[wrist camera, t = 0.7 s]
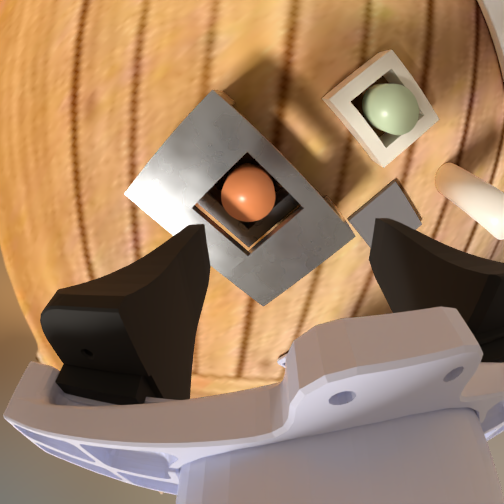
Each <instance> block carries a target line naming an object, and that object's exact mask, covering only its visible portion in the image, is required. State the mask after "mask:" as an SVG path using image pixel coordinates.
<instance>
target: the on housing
mask: <svg viewBox="0 0 504 504" xmlns="http://www.w3.org/2000/svg"><path fill="white" fill-rule="evenodd" d="M381 76H384V77H385V78H386V80H387V81H388V82H389V84H399V85H402V86H404V87H406V88H408V89H409V90H410V91H411V92H412V93H413V95H414V96H415V98H416V100H417V103H418V106H419V117H418V121H417V123H416V125H415V127H414V128H413V129H412V130H411V131H410V132H408V133H406V134H403V135H393V134H390V133H387V132H386V133H384V134H383V135H382V136H381V137H380V138H378V136H377V135H376V134H375V132H374V131H373V130H372V128H371V127H370V126H369V124H368V123H367V122H366V120H365V119H364V118H363V117H362V115H361V114H360V113H359V112H358V110H357V109H356V108H355V107H354V106H353V104H352V103H351V101H352V100H353V99H354V98H355V97H357V96H358V95H359V94H360V93H362V92H363V91H364V90H365V89H366V88H368V87H369V86H370V85H371V84H373V83H374V82H375V81H376V80H378V79H379V78H380V77H381ZM321 99H322V100H323V101H324V102H325V103H326V104H327V105H328V106H329V108H330V109H331V110H332V111H333V112H334V113H335V114H336V116H337V117H338V118H339V119H340V120H341V121H342V123H343V124H344V125H345V126H346V127H347V129H348V130H349V131H350V132H351V134H352V135H353V136H354V137H355V139H356V140H357V141H358V142H359V144H360V145H361V146H362V147H363V149H364V150H365V151H366V153H367V154H368V155H369V157H370V158H371V159H372V160H373V161H374V162H376V163H377V164H379V165H380V166H382V167H383V168H384V167H385V166H386V165H387V164H389V163H390V162H391V161H392V160H393V159H394V158H396V157H397V156H398V155H399V154H400V153H401V152H403V151H404V150H405V149H406V148H407V147H408V146H410V145H411V144H412V143H413V142H414V141H415V140H416V139H418V138H419V137H420V136H421V135H422V134H423V133H425V132H426V131H427V130H428V129H429V128H430V127H431V126H433V125H434V124H435V123H436V122H437V121H438V120H439V118H438V116H437V114H436V113H435V111H434V109H433V108H432V106H431V104H430V103H429V101H428V100H427V98H426V96H425V95H424V93H423V92H422V90H421V89H420V87H419V86H418V84H417V83H416V81H415V80H414V78H413V77H412V76H411V74H410V73H409V71H408V70H407V69H406V67H405V66H404V64H403V63H402V62H401V60H400V59H399V58H398V57H397V55H396V54H395V53H394V51H393V50H392V49H391V50H387V51H383V52H379V53H377V54H376V55H375V56H374V57H372V58H371V59H370V60H368V61H367V62H366V63H364V64H363V65H362V66H361V67H359V68H358V69H357V70H355V71H354V72H353V73H352V74H350V75H349V76H348V77H347V78H345V79H344V80H343V81H342V82H341V83H339V84H338V85H337V86H336V87H334V88H333V89H332V90H331V91H330V92H328V93H327V94H326V95H325V96H324V97H322V98H321Z"/></svg>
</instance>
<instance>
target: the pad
mask: <svg viewBox="0 0 504 504" xmlns="http://www.w3.org/2000/svg"><path fill="white" fill-rule="evenodd" d="M375 218H390V219H393V220H395V221H398V222H400V223H402V224H404V225H406V226H408V227H410V228H412V229H414V230H416V229H417V228H418V227H419V226H421V225H422V223H421V222H420V220H419V218H418V216H417V215H416V213H415V211H414V210H413V208H412V206H411V205H410V203H409V202H408V200H407V198H406V197H405V195H404V194H403V192H402V191H401V189H400V187H399V186H398V184H397V183H396V182H395V181H394V180H393V181H392V182H391V183H390V184H388V185H387V186H386V187H385V188H384V189H382V190H381V191H380V192H379V193H378V194H377V195H375V196H374V197H373V198H372V199H371V200H369V201H368V202H367V203H366V204H365V205H363V206H362V207H361V208H360V209H359V210H357V211H356V212H355V213H354V214H353V215H351V216H350V217H349V218H348V221H349V222H350V223H351V224H352V226H353V227H354V228H355V229H356V230H357V232H358V233H359V234H360V235H361V237H362V238H363V239H364V240H365V241H366V243H367V244H368V245H369V246H370V248H371V245H372V238H373V232H374V225H375Z"/></svg>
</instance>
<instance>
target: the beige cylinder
mask: <svg viewBox="0 0 504 504" xmlns="http://www.w3.org/2000/svg"><path fill="white" fill-rule="evenodd" d="M435 186H436V188H437V190H438V192H439V193H440V194H442V195H443V196H445V197H446V198H447V199H449V200H450V201H451V202H453V203H454V204H455V205H457V206H458V207H459V208H461V209H462V210H463V211H464V212H466V213H467V214H468V215H469V216H471V217H472V218H473V219H474V220H476V221H477V222H478V223H479V224H480V225H482V226H483V227H484V228H485V229H486V230H488V231H489V232H490V233H491V234H492V235H493V236H494V237H496V238H497V239H499V240H503V239H504V193H503V192H502V191H500V190H499V189H497V188H496V187H494V186H492V185H491V184H489V183H487V182H486V181H484V180H482V179H481V178H479V177H477V176H475V175H474V174H472V173H470V172H468V171H466V170H465V169H463V168H461V167H459V166H457V165H455V164H453V163H445V164H443V165H442V166H441V167H440V168H439V169H438V171H437V173H436V177H435Z"/></svg>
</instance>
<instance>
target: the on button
mask: <svg viewBox="0 0 504 504" xmlns="http://www.w3.org/2000/svg"><path fill="white" fill-rule="evenodd" d="M362 110H363V114H364V116H365V118H366V120H367V121H368V122H369V123H370V124H371V125H372V126H373V127H375V128H377V129H379V130H382V131H385V132H387V133H390V134H393V135H403V134H406V133H408V132H410V131H411V130H412V129H413V128H414V127H415V125H416V123H417V121H418V117H419V106H418V103H417V100H416V98H415V96H414V95H413V93H412V92H411V91H410V90H409V89H408V88H406V87H404V86H402V85H399V84H376V85H373V86H371V87H370V88H369V89H368V90H367V91H366V92H365V94H364V96H363V99H362Z"/></svg>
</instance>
